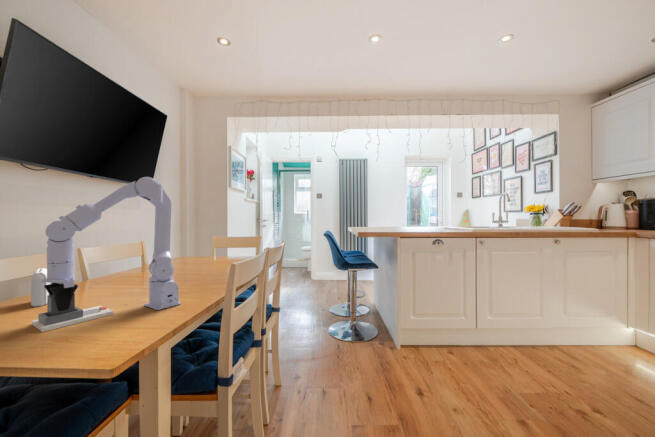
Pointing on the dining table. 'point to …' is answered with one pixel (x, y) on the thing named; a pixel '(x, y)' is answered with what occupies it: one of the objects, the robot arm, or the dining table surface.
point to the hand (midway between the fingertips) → (61, 308)
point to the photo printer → (39, 287)
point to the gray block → (52, 306)
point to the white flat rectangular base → (70, 317)
